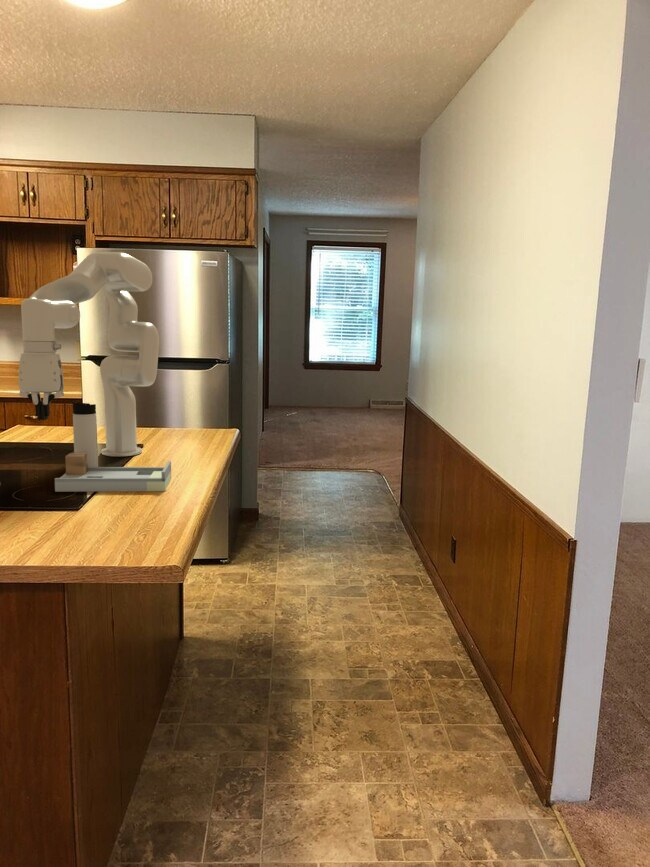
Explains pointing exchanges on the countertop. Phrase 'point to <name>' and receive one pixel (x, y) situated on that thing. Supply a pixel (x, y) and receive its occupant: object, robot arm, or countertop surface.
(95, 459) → the travel mug
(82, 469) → the block
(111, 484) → the trap box
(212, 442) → the countertop surface
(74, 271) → the robot arm
